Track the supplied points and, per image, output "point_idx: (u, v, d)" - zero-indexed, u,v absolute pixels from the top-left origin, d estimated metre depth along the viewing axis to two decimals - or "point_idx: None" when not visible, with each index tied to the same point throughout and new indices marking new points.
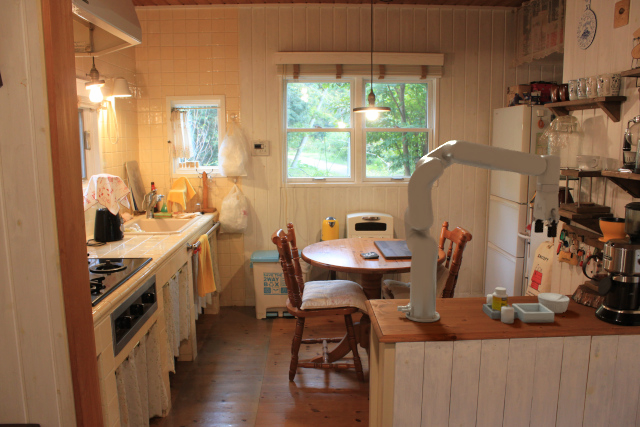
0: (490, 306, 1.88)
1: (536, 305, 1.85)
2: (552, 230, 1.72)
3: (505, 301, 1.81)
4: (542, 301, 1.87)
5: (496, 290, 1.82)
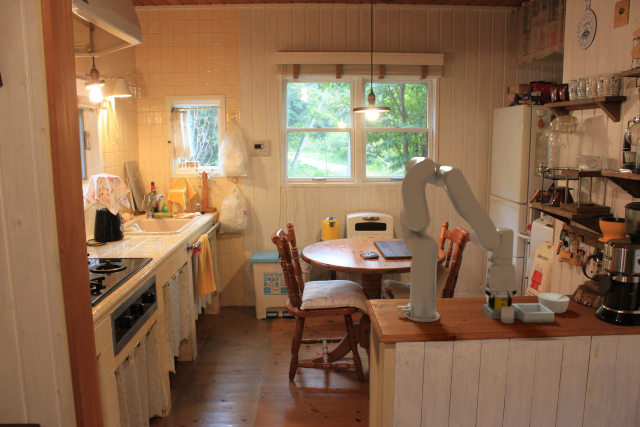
0: None
1: (536, 305, 1.85)
2: None
3: (505, 301, 1.81)
4: (542, 301, 1.87)
5: None
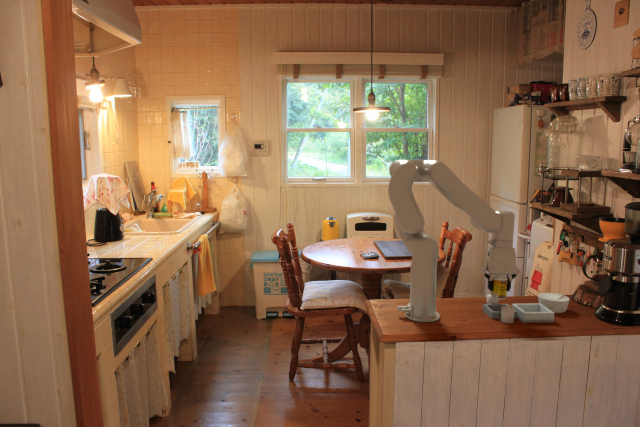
0: (490, 306, 1.88)
1: (536, 305, 1.85)
2: None
3: (504, 284, 1.80)
4: (542, 301, 1.87)
5: None
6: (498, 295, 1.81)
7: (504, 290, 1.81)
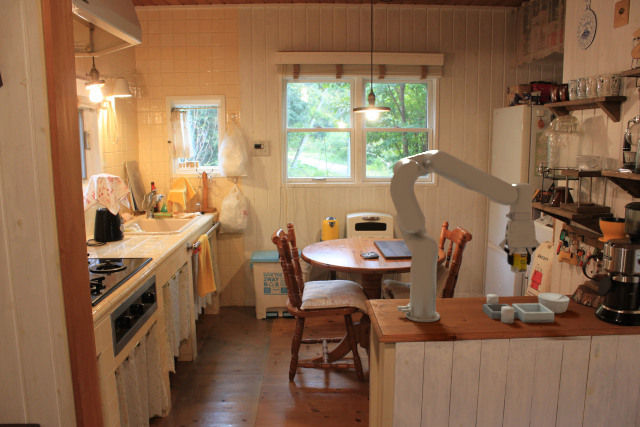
0: (490, 306, 1.88)
1: (536, 305, 1.85)
2: None
3: (524, 257, 1.77)
4: (542, 301, 1.87)
5: None
6: (518, 269, 1.78)
7: (524, 263, 1.78)
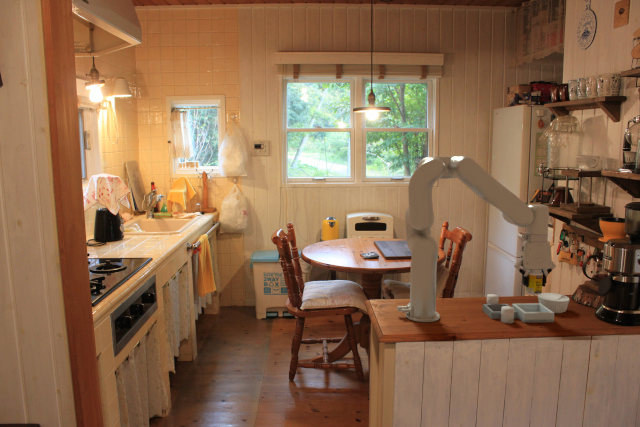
0: (490, 306, 1.88)
1: (536, 305, 1.85)
2: None
3: (540, 279, 1.77)
4: (542, 301, 1.87)
5: None
6: (533, 290, 1.77)
7: (540, 285, 1.77)
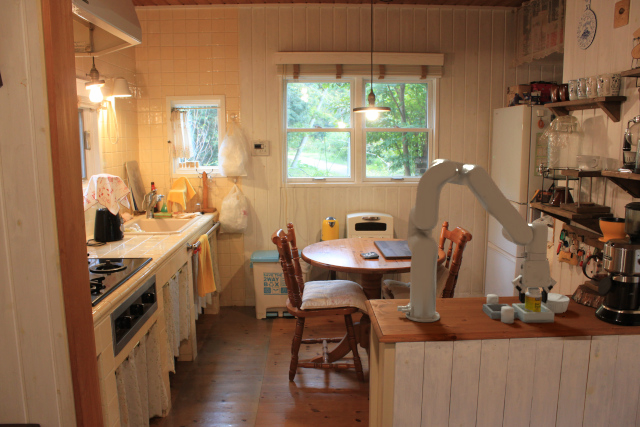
0: (490, 306, 1.88)
1: None
2: None
3: (539, 301, 1.78)
4: None
5: (529, 290, 1.79)
6: None
7: (538, 307, 1.78)
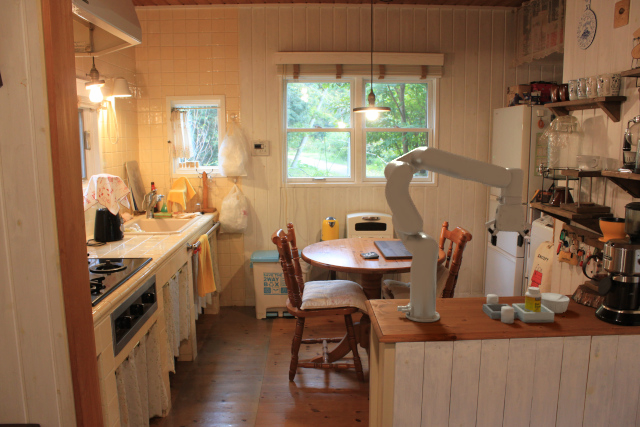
0: (490, 306, 1.88)
1: None
2: None
3: (539, 301, 1.78)
4: (542, 301, 1.87)
5: (529, 290, 1.79)
6: None
7: (538, 307, 1.78)
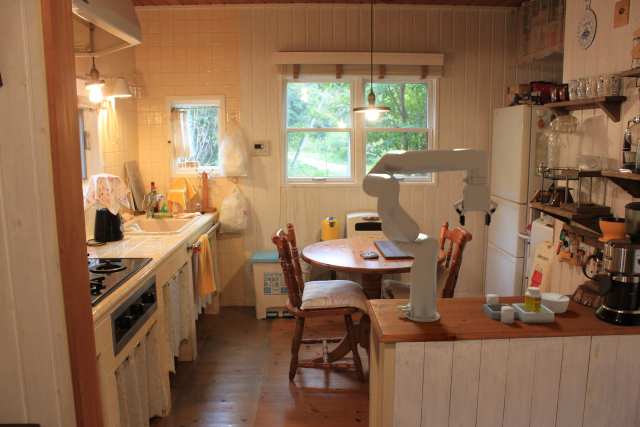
0: (490, 306, 1.88)
1: None
2: None
3: (539, 301, 1.78)
4: (542, 301, 1.87)
5: (529, 290, 1.79)
6: None
7: (538, 307, 1.78)
